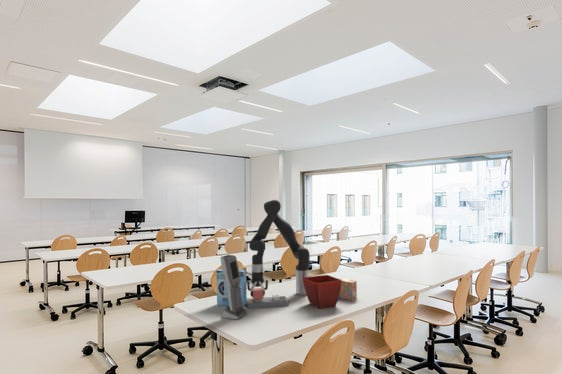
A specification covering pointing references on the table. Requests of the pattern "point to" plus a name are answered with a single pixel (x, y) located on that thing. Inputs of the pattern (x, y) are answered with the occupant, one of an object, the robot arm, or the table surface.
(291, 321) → the table surface
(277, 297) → the block
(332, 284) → the plant pot
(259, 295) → the cap
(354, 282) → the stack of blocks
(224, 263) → the thermal camera
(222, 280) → the gum box
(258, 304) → the breaker panel
